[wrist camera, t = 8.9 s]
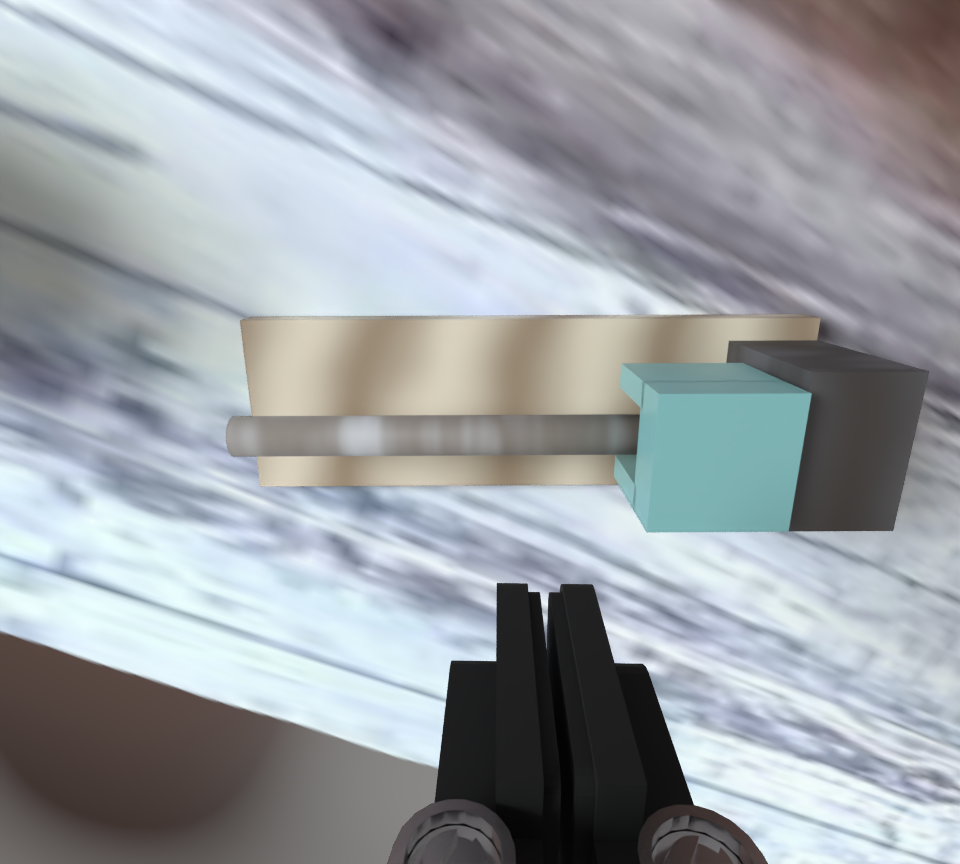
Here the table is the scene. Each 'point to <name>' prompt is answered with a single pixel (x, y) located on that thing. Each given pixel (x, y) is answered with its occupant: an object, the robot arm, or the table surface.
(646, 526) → the sleeve
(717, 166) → the table surface
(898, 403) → the wooden slide rail
